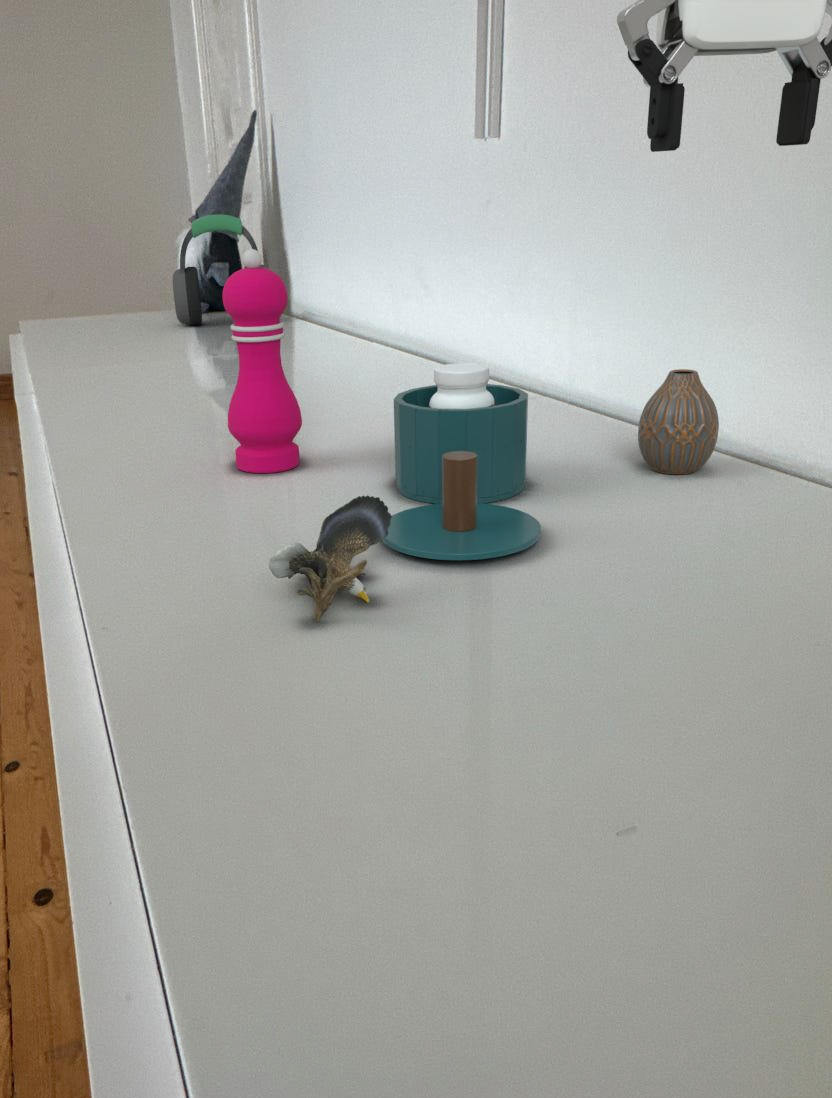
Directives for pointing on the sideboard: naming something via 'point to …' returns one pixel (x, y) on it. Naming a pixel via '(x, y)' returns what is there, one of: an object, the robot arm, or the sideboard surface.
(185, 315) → the headphones
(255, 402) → the pepper mill
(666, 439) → the vase
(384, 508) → the eagle figurine
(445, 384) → the pill bottle
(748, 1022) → the sideboard surface
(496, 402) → the pot
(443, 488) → the lid
